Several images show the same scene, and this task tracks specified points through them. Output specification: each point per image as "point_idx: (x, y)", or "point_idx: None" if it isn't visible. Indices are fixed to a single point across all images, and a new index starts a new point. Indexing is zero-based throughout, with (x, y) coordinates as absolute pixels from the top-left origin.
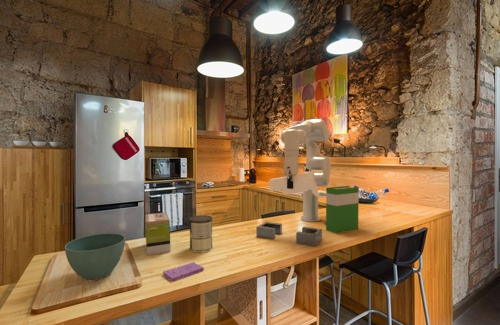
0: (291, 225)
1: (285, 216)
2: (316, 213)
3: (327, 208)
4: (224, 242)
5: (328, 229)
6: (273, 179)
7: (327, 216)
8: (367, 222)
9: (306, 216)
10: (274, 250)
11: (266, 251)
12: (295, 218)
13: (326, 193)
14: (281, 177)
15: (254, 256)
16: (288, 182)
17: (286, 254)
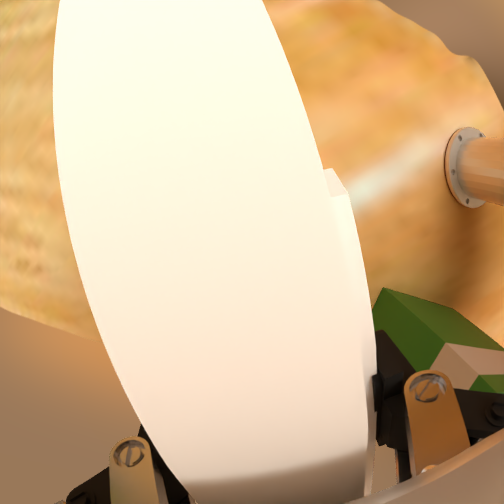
0: (361, 138)
1: (447, 59)
2: (486, 201)
3: (428, 338)
4: (9, 110)
5: (380, 301)
6: (62, 40)
7: (408, 320)
8: (492, 324)
9: (463, 162)
10: (62, 277)
11: (41, 264)
12: (451, 106)
13: (476, 375)
14: (245, 219)
15: (6, 263)
16: (142, 437)
17: (71, 320)
